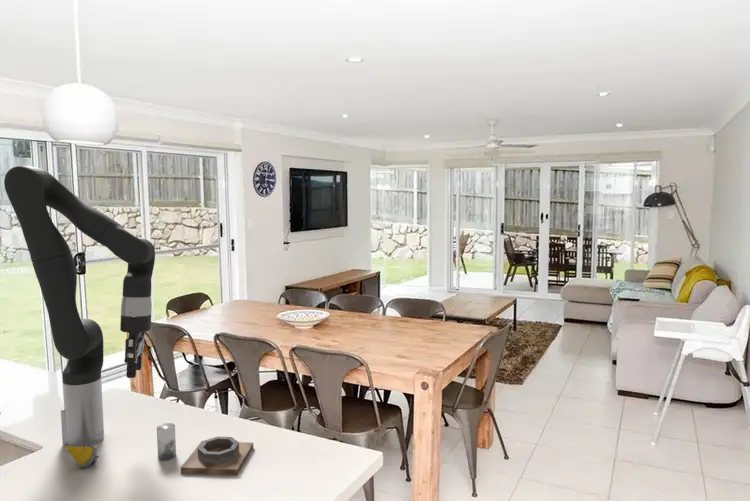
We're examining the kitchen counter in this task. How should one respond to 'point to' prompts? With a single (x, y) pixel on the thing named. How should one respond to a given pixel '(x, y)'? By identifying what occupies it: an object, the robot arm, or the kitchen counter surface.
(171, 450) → the steel peg
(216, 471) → the socket board
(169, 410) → the kitchen counter surface
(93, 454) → the drill bit
